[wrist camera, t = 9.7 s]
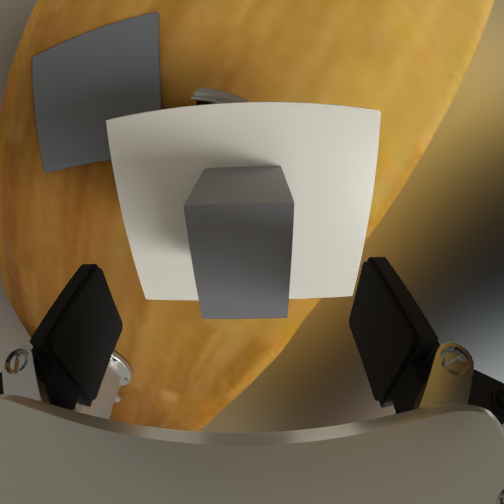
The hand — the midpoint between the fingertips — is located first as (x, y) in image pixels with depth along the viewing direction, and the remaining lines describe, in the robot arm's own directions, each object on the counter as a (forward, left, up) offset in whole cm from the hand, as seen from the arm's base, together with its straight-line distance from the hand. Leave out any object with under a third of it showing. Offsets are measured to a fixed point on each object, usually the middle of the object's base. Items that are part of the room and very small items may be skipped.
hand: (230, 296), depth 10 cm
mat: (+8, +14, -16) cm, 23 cm away
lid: (+1, 0, -6) cm, 6 cm away
